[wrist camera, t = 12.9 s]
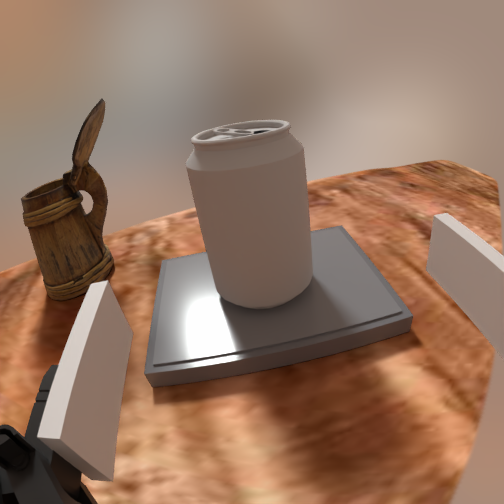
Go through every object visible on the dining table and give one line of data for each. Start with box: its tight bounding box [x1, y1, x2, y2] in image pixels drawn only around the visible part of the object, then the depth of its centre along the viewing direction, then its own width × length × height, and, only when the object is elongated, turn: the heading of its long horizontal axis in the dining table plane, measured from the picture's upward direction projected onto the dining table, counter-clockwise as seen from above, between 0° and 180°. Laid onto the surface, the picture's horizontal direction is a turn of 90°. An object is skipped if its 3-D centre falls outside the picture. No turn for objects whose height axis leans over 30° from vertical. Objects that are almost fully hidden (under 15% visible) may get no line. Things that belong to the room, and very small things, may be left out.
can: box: [186, 120, 313, 309], centre depth 22 cm, size 8×8×12 cm
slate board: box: [144, 226, 413, 387], centre depth 25 cm, size 18×14×2 cm
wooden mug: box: [21, 99, 114, 300], centre depth 29 cm, size 9×14×18 cm, turn 101°
